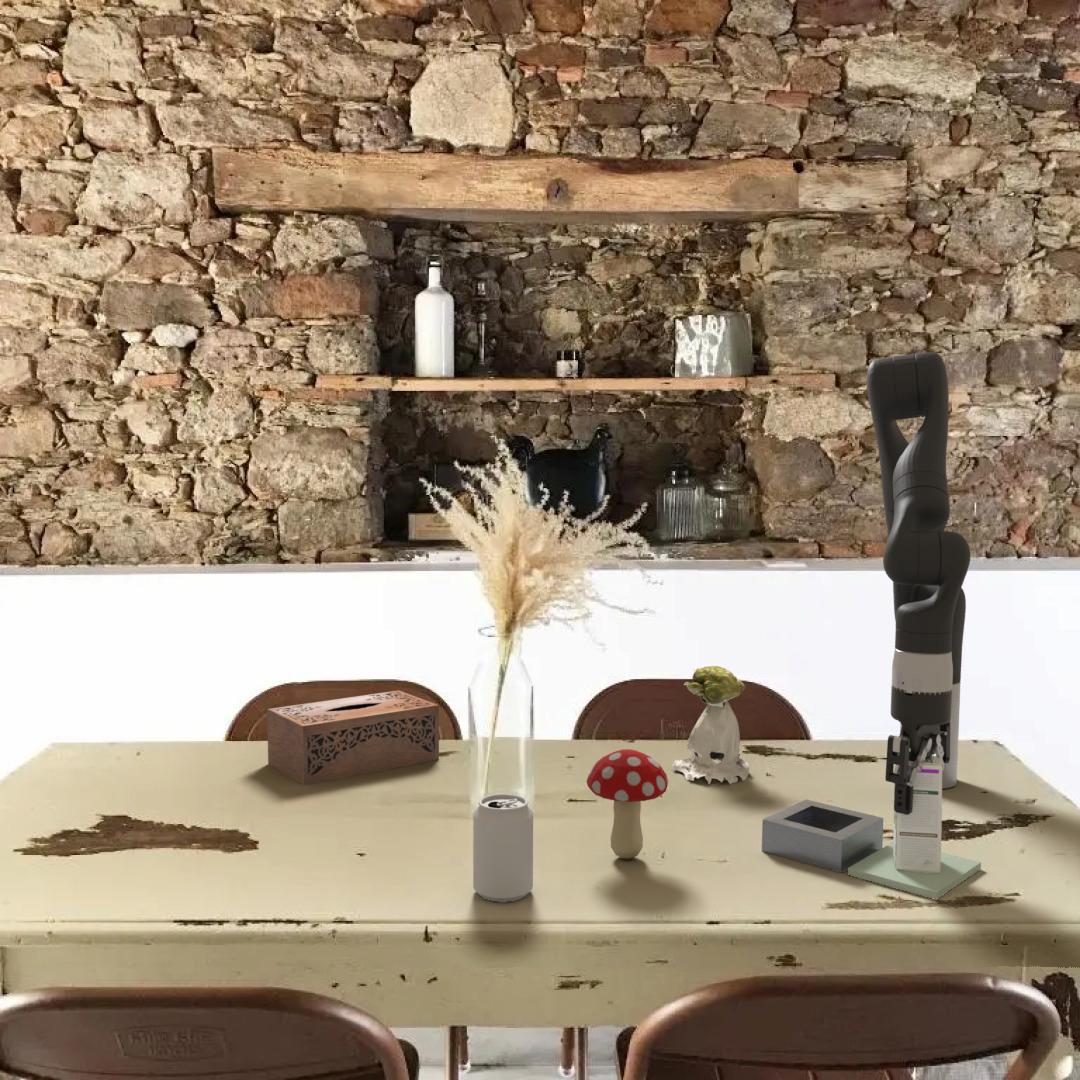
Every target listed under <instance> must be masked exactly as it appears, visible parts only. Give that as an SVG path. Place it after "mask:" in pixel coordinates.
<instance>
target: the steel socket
mask: <svg viewBox="0 0 1080 1080" xmlns="http://www.w3.org/2000/svg"><path fill="white" fill-rule="evenodd" d="M761 827H762V828H761V831H762V832H761V852H764V853H768V854H771V855H774V856H775V855H776V856H779V857H782V858H785V859H789V860H792V861H796V862H800V863H803V864H807V865H811V866H814V867H817V866H818V867H817V868H820V867H822V869H824V868H827V869H829V870H828V871H831V870H833V871H832V872H835V871H836V872H835V873H838V872H840V873H839V874H843V873H844V872H845V870H846V871H848V868H849V867H850V866H852V865H854V864H856V863H857V862H859V861H861V860H863V859H864V858H866V857H868V856H870V855H871V854H873V853H875V852H877V851H878V850H880V849H882V848H883V843H884V817H880V816H876V815H872V814H869V813H864V812H860V811H856V810H851V809H848V808H843V807H839V806H835V805H831V804H826V803H822V802H818V801H814V800H810V799H804V800H802V801H800V802H797V803H795V804H793V805H791V806H789V807H787V808H784V809H782V810H780V811H778V812H775V813H773V814H771V815H769V816H767V817H764V818H762V824H761ZM827 869H826V870H827ZM843 871H844V872H843Z"/></svg>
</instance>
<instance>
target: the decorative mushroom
mask: <svg viewBox="0 0 1080 1080" xmlns="http://www.w3.org/2000/svg"><path fill="white" fill-rule="evenodd" d="M586 784H587V788H589V790H591V792H592V793H593V794H594V795H595V796H597V797H600V798H602V799H605V800H611V801H613V806H612V807H613V824H612V829H611V834H610V848H611V850H612V851H613V853H614V854H615V856H617V857H619V858H621V859H622V860H631V859H633V858H635V857H638V856H639V854H640V853H641V852H642V850H643V846H644V845H643V844H644V840H643V839H644V837H643V836H644V835H643V831H642V825H641V809H642V804H641V803H642V802H646V801H652V800H654V799H657V798H659V797H660V796H662V795H664V793H666V791H667V789H668V785H669V778H668V776H667V774H666V772H665V770H664V769H663V767H662V766H661V764H659V762H657V761H656V760H655V759H654V758H652V757H651V756H650V755H647V754H646V753H644V752H642V751H638V750H635V749H631V748H629V749H627V748H626V749H625V748H623V749H620V750H615V751H613V752H611V753H608V754H606V755H605V756H602V757H601V758H600V759H599V760H597V761H596V762H595V764H594V765H593V767H592V768H591V769H590V771H589V774H588V775H587V779H586Z"/></svg>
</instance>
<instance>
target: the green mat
mask: <svg viewBox="0 0 1080 1080" xmlns="http://www.w3.org/2000/svg"><path fill="white" fill-rule="evenodd" d="M980 869H982V862H981V861H978V860H974V859H971V858H966V857H962V856H959V855H955V854H950V853H948V852H947V853H946V852H942V851H941V864H940V873H924V872H912V871H904V870H898V869H896V867H895V861H894V857H893V841H892V842H891V843H889V844H887V845H885V846H883V847H882V849H880V850H878V851H877V852H875V853H873V854H871V855H870V856H868V857H866V858H864V859H863V860H861V861H859V862H857V863H856V864H854V865H852V866H850V867H849V868H848V869H847V876H849V875H851V876H850V877H852V876H854V877H853V878H856V877H858V878H857V879H859V878H861V879H860V880H863V879H865V880H864V881H866V880H869V881H868V882H870V881H872V882H871V883H874V882H875V883H874V884H877V883H879V884H878V885H881V884H882V886H884V885H886V886H885V887H888V886H890V887H889V888H891V887H892V888H891V889H895V888H896V890H898V889H900V890H899V891H902V890H904V891H903V892H905V891H907V892H906V893H909V892H910V894H913V893H914V894H913V895H916V894H918V895H917V896H920V895H922V896H921V897H923V896H926V897H925V898H927V897H930V898H934V899H937V898H939V897H940V898H942V897H943V896H944V895H943V894H945V893H946V892H948V891H949V890H950V891H952V890H953V889H955V888H956V887H958V886H959V885H960V883H961V882H962V883H963V882H965V881H967V878H968V877H969V878H971V877H972V876H973V875H975V874H976V873H978V872H979V871H981V870H980ZM977 871H978V872H977ZM974 873H975V874H974ZM970 876H971V877H970ZM969 878H968V879H969ZM964 880H965V881H964ZM962 883H961V884H962ZM958 884H959V885H958ZM957 885H958V886H957ZM954 887H955V888H954ZM951 889H952V890H951ZM950 891H949V892H950ZM949 892H948V893H949ZM946 894H947V893H946ZM946 894H945V895H946ZM942 895H943V896H942ZM941 896H942V897H941ZM930 898H929V899H930ZM940 898H939V899H940ZM934 899H933V900H934Z"/></svg>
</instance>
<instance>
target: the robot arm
mask: <svg viewBox="0 0 1080 1080" xmlns="http://www.w3.org/2000/svg"><path fill="white" fill-rule="evenodd" d="M948 380H949V379H948V372H947V368H946V365H945V361H944V359H943V358H942V356H941V355H940V354H938V353H937V352H933V351H932V352H930V351H929V352H928V351H927V352H919V353H918V352H917V353H910V354H903V355H896V356H888V357H882V358H877V359H875V360H872V361H871V363H870V364H869V366H868V367H867V373H866V389H867V397H868V402H869V408H870V413H871V418H872V424H873V430H874V435H875V439H876V446H877V450H878V455H879V464H880V465H879V466H880V474H881V475H880V478H881V489H882V499H883V511H884V516H885V517H884V518H885V524H886V528H887V529H886V530H887V535H888V539H887V541H886V545H885V548H884V553H883V558H882V562H883V565H882V566H883V569H884V570H883V571H884V572H885V574H886V576H887V577H888V578H889V579H890V580H891V581H892V592H893V610H894V611H893V613H894V614H893V615H894V619H895V634H894V635H895V637H894V654H893V659H892V666H891V689H890V691H891V693H890V715H891V717H892V719H894V720H896V721H898V722H899V735H892V734H889V736H888V737H887V747H886V760H885V761H886V763H885V764H886V765H885V781H886V782H887V783H888V782H889V783H892V784H895V791H894V792H893V793H894V798H893V799H894V800H893V811H894V810H895V812H897V813H901V814H905V815H909V814H910V813H912V810H913V786H912V785H913V783H914V779H915V776H916V773H917V772H920V771H921V770H922V767H923V764H924V761H925V759H928V758H930V757H931V756H932V755H936V756H937V757H939V759H940V762H941V765H942V789H949V788H953V787H955V786H956V785H957V779H958V776H957V775H958V760H959V759H958V757H959V755H958V754H959V731H960V730H959V729H960V708H961V707H960V706H961V703H960V702H961V677H962V662H963V661H962V659H963V657H962V656H963V653H962V652H963V643H964V642H963V640H964V633H965V621H966V612H967V611H966V610H967V608H966V607H967V603H966V601H967V599H966V593H965V592H964V589H963V588H962V587H963V584H964V582H965V579H966V576H967V573H968V571H969V570H968V569H969V567H970V563H971V549H970V546H969V543H968V541H967V539H966V538H965V537H964V536H963V535H962V533H961V534H960V533H959V532H955V531H945V530H946V528H947V524H948V520H949V517H950V513H951V505H950V495H949V488H948V478H947V477H948V476H947V449H948V440H949V439H948V438H949V437H948V433H949V409H950V408H949V405H950V403H949V402H950V401H949V400H950V399H949V398H950V397H949V382H948ZM915 418H924V420H923V421H922V424H921V426H920V428H919V429H918V431H917V432H916V434H915V436H914V437H913V438H912V440H911V441H910V442H909V441H908V440H907V439H906V438H905V435H904V434H903V432H902V430H901V429H900V426H899V425H898V422H897V421H899V420H908V419H915ZM912 761H914V762H912ZM895 765H896V766H895ZM908 770H909V774H908Z"/></svg>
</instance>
